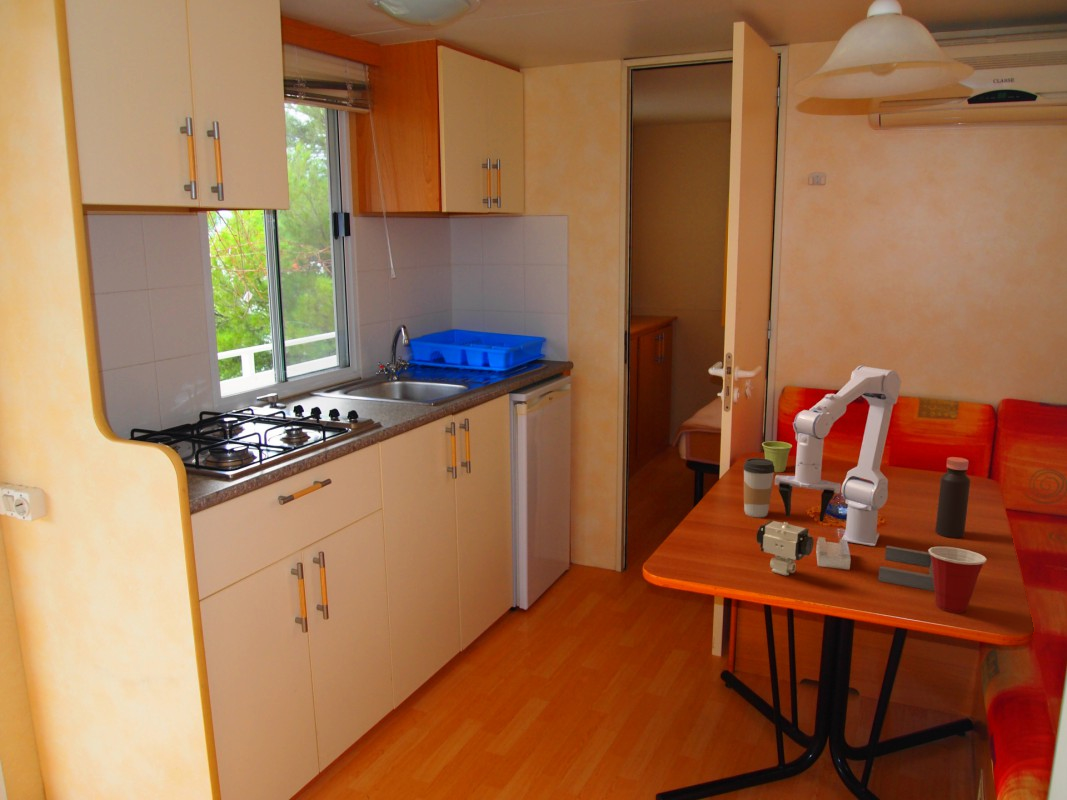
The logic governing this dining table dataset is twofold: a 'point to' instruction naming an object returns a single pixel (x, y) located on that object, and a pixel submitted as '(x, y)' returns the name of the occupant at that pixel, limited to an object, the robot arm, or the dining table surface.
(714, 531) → the dining table surface
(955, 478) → the bottle
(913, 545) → the dining table surface
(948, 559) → the plastic cup
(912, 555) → the dock
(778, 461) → the plant pot
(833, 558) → the block
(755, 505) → the coffee cup
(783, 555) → the pneumatic valve
